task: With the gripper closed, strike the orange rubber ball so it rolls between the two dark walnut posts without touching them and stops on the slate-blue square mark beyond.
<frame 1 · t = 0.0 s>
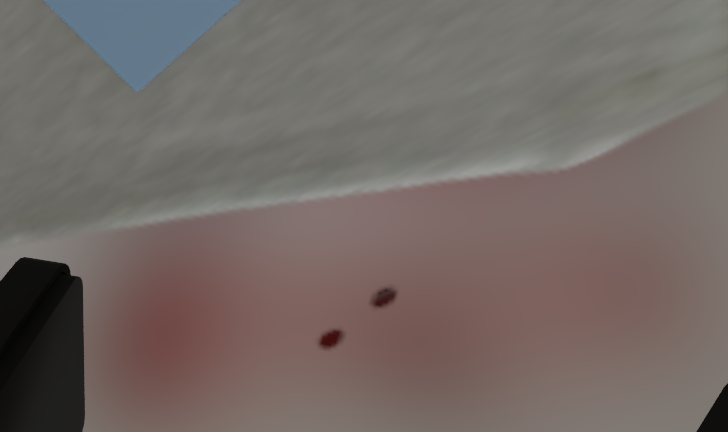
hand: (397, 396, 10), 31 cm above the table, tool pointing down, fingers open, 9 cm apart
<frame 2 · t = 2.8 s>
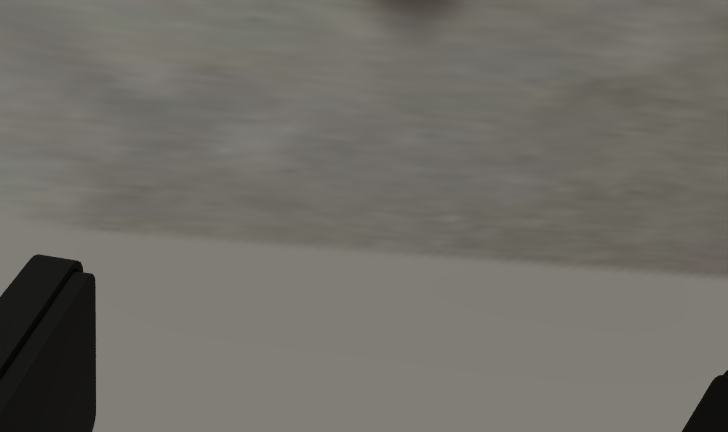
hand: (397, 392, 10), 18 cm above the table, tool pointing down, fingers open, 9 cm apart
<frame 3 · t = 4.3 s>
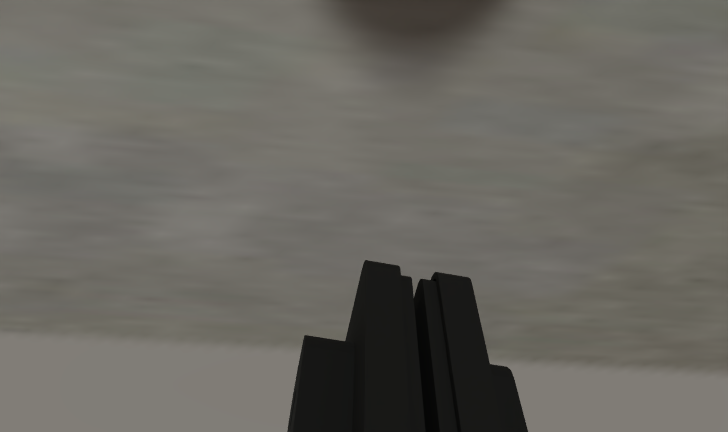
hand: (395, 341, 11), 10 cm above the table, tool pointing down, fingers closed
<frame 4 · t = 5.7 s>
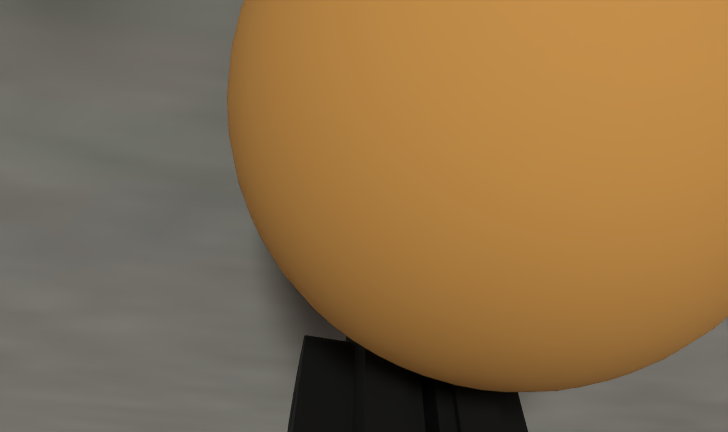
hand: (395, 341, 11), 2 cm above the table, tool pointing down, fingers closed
ball: (506, 109, 7), on the table
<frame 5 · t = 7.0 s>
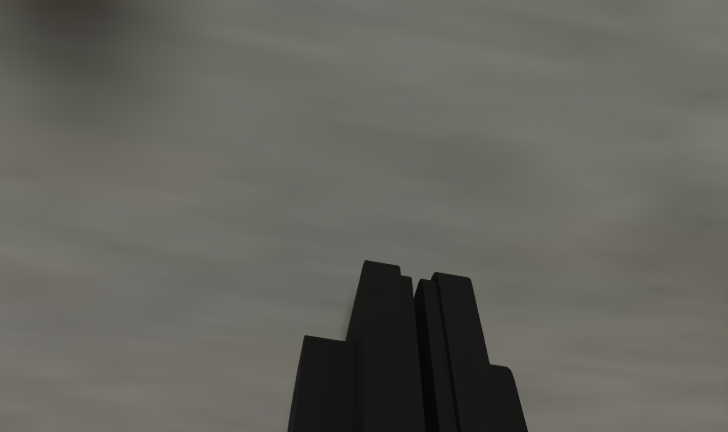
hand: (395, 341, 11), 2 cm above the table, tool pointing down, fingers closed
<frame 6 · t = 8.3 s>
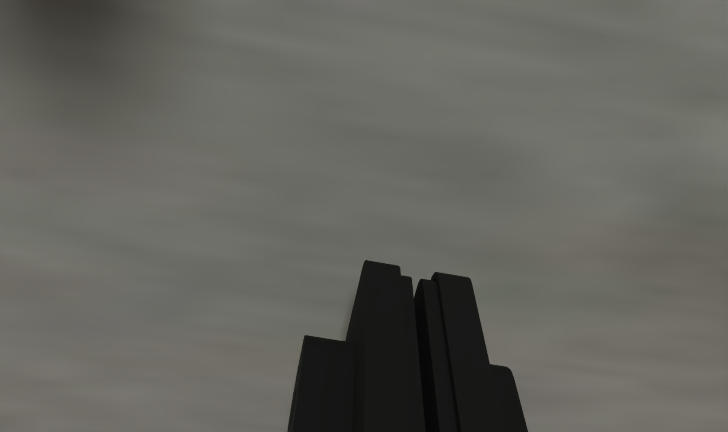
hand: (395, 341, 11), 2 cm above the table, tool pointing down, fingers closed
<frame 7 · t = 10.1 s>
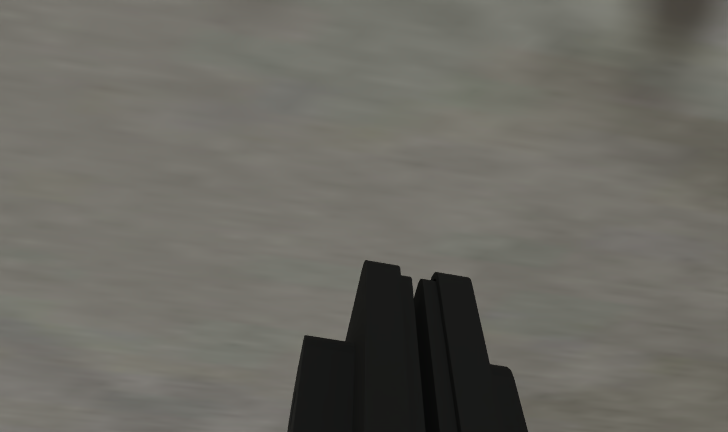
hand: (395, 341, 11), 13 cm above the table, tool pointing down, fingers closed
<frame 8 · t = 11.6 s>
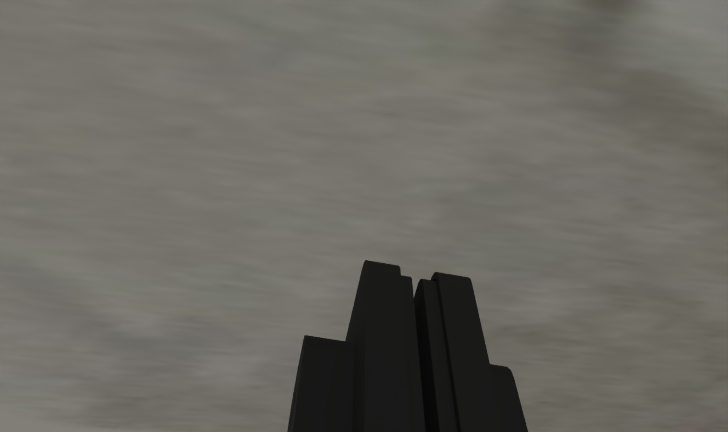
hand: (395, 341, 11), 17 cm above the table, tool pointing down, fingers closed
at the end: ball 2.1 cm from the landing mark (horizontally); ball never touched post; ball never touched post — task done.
